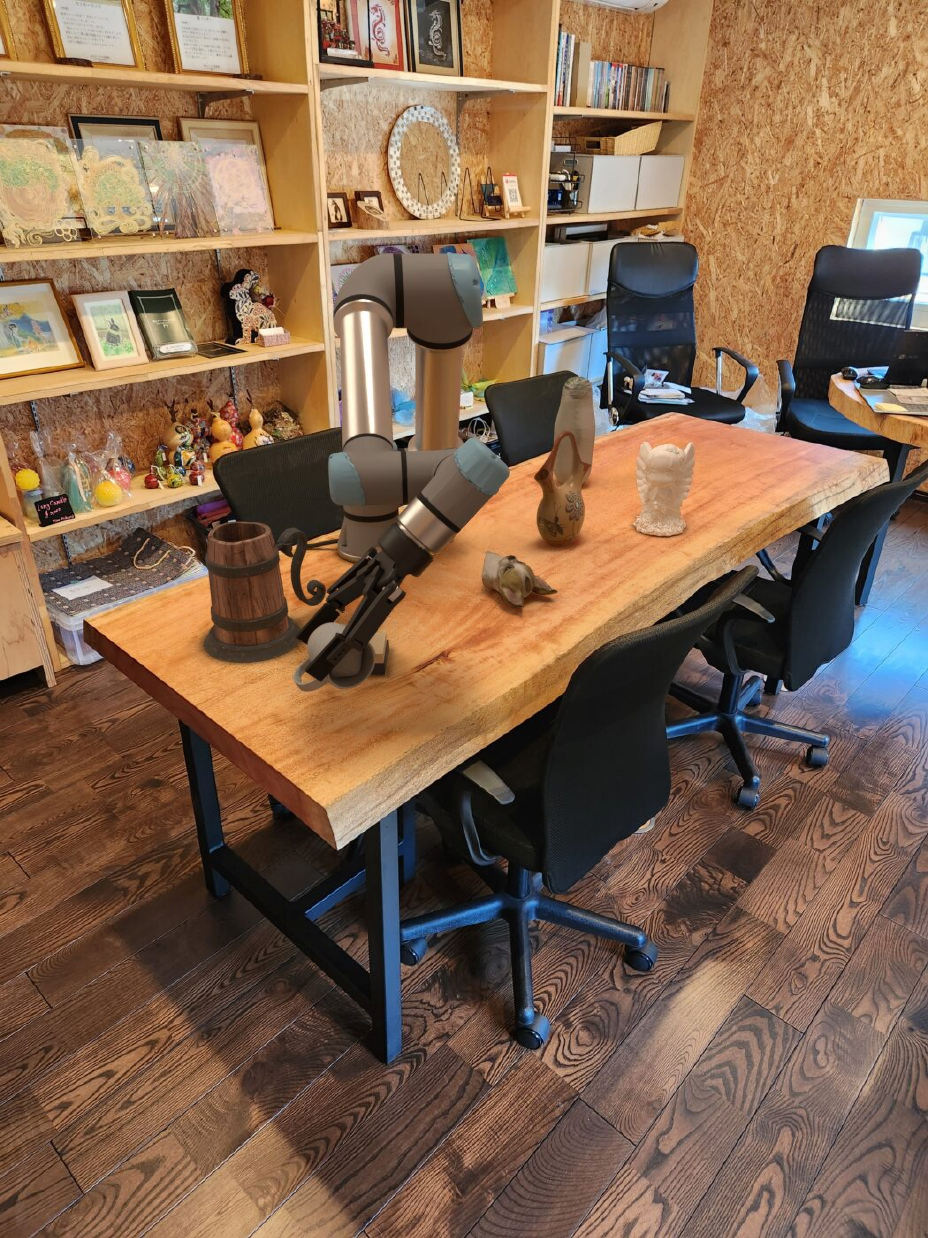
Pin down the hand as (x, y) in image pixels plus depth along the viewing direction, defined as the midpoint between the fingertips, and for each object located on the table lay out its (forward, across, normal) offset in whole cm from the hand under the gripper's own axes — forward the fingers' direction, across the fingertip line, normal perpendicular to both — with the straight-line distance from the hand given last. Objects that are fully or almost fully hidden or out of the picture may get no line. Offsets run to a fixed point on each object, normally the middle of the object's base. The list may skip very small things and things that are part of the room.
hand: (307, 658), depth 115 cm
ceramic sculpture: (-22, +33, -39) cm, 55 cm away
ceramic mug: (+1, 0, -5) cm, 5 cm away
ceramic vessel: (-35, +55, -53) cm, 84 cm away
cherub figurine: (-53, +57, -70) cm, 105 cm away
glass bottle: (-48, +91, -66) cm, 122 cm away
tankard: (+11, +32, -6) cm, 35 cm away
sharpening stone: (+2, +17, -15) cm, 23 cm away
